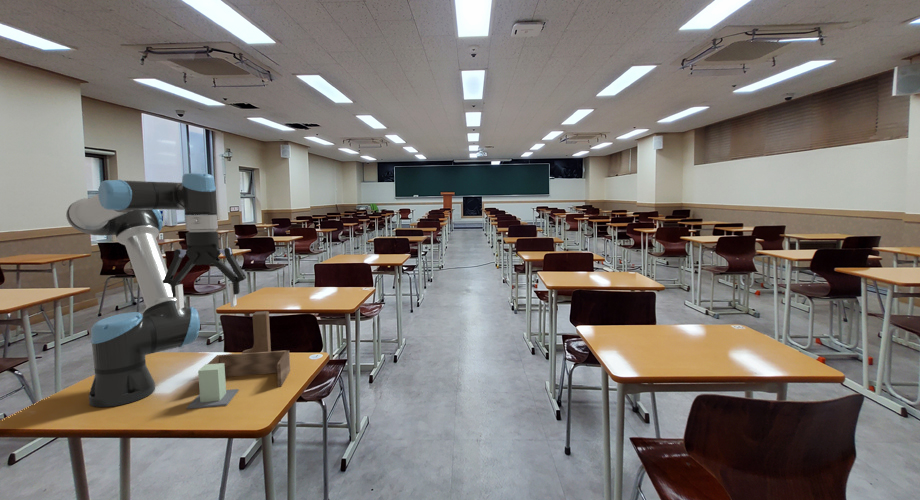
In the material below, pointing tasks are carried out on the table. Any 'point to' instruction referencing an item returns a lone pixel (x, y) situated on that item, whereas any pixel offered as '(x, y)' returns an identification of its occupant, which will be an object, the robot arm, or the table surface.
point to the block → (212, 382)
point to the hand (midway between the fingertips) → (207, 307)
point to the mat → (222, 402)
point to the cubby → (256, 364)
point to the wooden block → (260, 333)
